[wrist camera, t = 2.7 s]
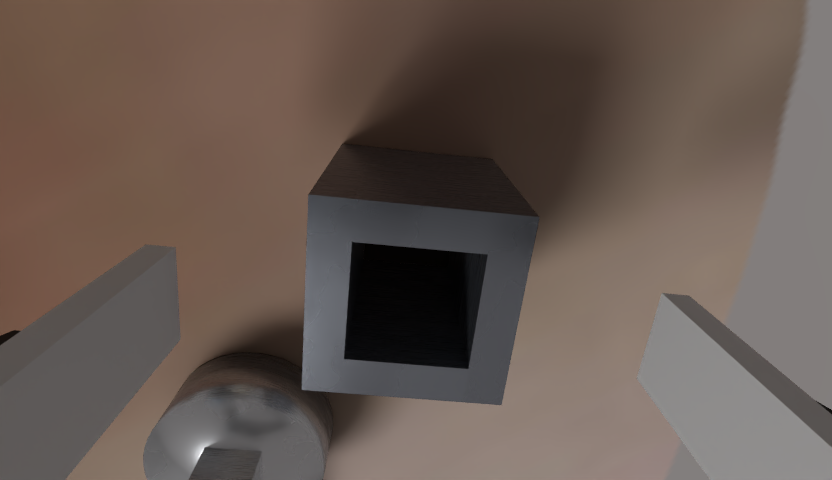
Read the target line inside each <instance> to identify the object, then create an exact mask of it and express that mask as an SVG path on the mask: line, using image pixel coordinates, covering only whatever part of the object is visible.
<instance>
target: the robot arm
mask: <svg viewBox="0 0 832 480" xmlns="http://www.w3.org/2000/svg"><path fill="white" fill-rule="evenodd" d="M179 340H180V322H179V303H178V284H177V265H176V247H167V246H156V245H144V246H143V247H141V248H140V249H139V250H137V251H136V252H134V253H133V254H131V255H130V256H129V257H127V258H126V259H124V260H123V261H121V262H120V263H118V264H117V265H116V266H114V267H113V268H111V269H110V270H108V271H107V272H105V273H104V274H103V275H101V276H100V277H98V278H97V279H95V280H94V281H92V282H91V283H90V284H88V285H87V286H85V287H84V288H82V289H81V290H79V291H78V292H77V293H75V294H74V295H72V296H71V297H69V298H68V299H66V300H65V301H64V302H62V303H61V304H59V305H58V306H56V307H55V308H54V309H52V310H51V311H49V312H48V313H46V314H45V315H43V316H42V317H41V318H39V319H38V320H36V321H35V322H33V323H32V324H30V325H29V326H28V327H26V328H25V329H23V330H22V331H16V330H13V331H11V332H9V333H6V334H4V335H1V336H0V480H65V479H66V478H67V477H68V475H69V474H70V473H71V472H72V470H73V469H74V468H75V467H76V466H77V464H78V463H79V462H80V461H81V460H82V458H83V457H84V456H85V455H86V453H87V452H88V451H89V450H90V449H91V447H92V446H93V445H94V444H95V443H96V441H97V440H98V439H99V438H100V436H101V435H102V434H103V433H104V432H105V430H106V429H107V428H108V427H109V426H110V424H111V423H112V422H113V421H114V419H115V418H116V417H117V416H118V415H119V413H120V412H121V411H122V410H123V409H124V407H125V406H126V405H127V404H128V402H129V401H130V400H131V399H132V398H133V396H134V395H135V394H136V393H137V391H138V390H139V389H140V388H141V387H142V385H143V384H144V383H145V382H146V381H147V379H148V378H149V377H150V376H151V374H152V373H153V372H154V371H155V370H156V368H157V367H158V366H159V365H160V364H161V362H162V361H163V360H164V359H165V357H166V356H167V355H168V354H169V353H170V351H171V350H172V349H173V348H174V347H175V345H176V344H177V343H178V342H179ZM637 379H638V381H639V382H640V384H641V385H642V386H643V388H644V389H645V390H646V392H647V393H648V395H649V396H650V397H651V399H652V400H653V401H654V403H655V404H656V406H657V407H658V408H659V410H660V411H661V413H662V414H663V415H664V417H665V418H666V419H667V421H668V422H669V424H670V425H671V426H672V428H673V429H674V431H675V432H676V433H677V435H678V436H679V437H680V439H681V440H682V442H683V443H684V444H685V446H686V447H687V449H688V450H689V451H690V453H691V454H692V455H693V457H694V458H695V460H696V461H697V462H698V464H699V465H700V466H701V468H702V469H703V471H704V472H705V473H706V475H707V476H708V478H709V479H710V480H832V410H831V409H829V408H827V407H826V406H824V405H822V404H820V403H819V402H817V401H815V400H814V399H813V398H811V397H810V396H809V395H808V394H807V393H805V392H804V391H803V390H802V389H800V388H799V387H798V386H797V385H796V384H795V383H793V382H792V381H791V380H790V379H789V378H787V377H786V376H785V375H784V374H782V373H781V372H780V371H779V370H778V369H777V368H775V367H774V366H773V365H772V364H770V363H769V362H768V361H767V360H766V359H764V358H763V357H762V356H761V355H760V354H758V353H757V352H756V351H755V350H754V349H752V348H751V347H750V346H749V345H748V344H746V343H745V342H744V341H743V340H741V339H740V338H739V337H738V336H737V335H736V334H734V333H733V332H732V331H730V329H728V328H727V327H726V326H725V325H724V324H722V323H721V322H720V321H719V320H718V319H716V318H715V317H714V316H713V315H712V314H710V313H709V312H708V311H707V310H706V309H704V308H703V307H702V306H701V305H700V304H698V303H697V302H696V301H695V300H694V299H692V298H691V297H690V296H687V295H676V294H666V293H662V295H661V298H660V301H659V305H658V308H657V312H656V315H655V318H654V322H653V325H652V328H651V332H650V335H649V339H648V342H647V345H646V349H645V352H644V356H643V359H642V362H641V366H640V369H639V372H638V376H637Z"/></svg>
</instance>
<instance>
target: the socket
mask: <svg viewBox="0 0 832 480" xmlns="http://www.w3.org/2000/svg"><path fill="white" fill-rule="evenodd" d="M538 222H539V216H538V215H537V213H536V212H535V211H534V210H533V209H532V207H531V206H530V205H529V204H528V202H527V201H526V200H525V199H524V197H523V196H522V195H521V194H520V192H519V191H518V190H517V189H516V188H515V186H514V185H513V184H512V183H511V181H510V180H509V179H508V178H507V176H506V175H505V174H504V173H503V172H502V170H501V169H500V168H499V167H498V165H497V164H496V163H495V162H494V160H493V159H484V158H475V157H465V156H455V155H446V154H436V153H427V152H417V151H407V150H398V149H388V148H379V147H369V146H359V145H350V144H342V145H341V147H340V148H339V150H338V151H337V153H336V154H335V156H334V157H333V159H332V160H331V162H330V163H329V165H328V166H327V168H326V169H325V171H324V172H323V174H322V175H321V177H320V178H319V180H318V181H317V183H316V184H315V186H314V187H313V189H312V190H311V192H310V193H309V195H308V223H307V251H306V280H305V308H304V337H303V365H302V390H310V391H323V392H336V393H349V394H362V395H375V396H389V397H402V398H415V399H428V400H441V401H454V402H468V403H481V404H494V405H501V404H502V399H503V394H504V389H505V385H506V380H507V375H508V370H509V365H510V360H511V355H512V350H513V345H514V340H515V335H516V330H517V325H518V321H519V316H520V311H521V306H522V301H523V296H524V291H525V286H526V281H527V276H528V271H529V266H530V261H531V256H532V252H533V247H534V242H535V237H536V232H537V227H538ZM365 243H369V244H380V245H391V246H401V247H412V248H423V249H434V250H444V251H450V255H449V263H448V267H445V266H434V265H423V264H413V263H402V262H391V261H380V260H369V259H364V248H365Z"/></svg>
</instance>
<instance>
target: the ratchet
mask: <svg viewBox="0 0 832 480" xmlns="http://www.w3.org/2000/svg"><path fill="white" fill-rule="evenodd" d="M332 428H333V415H332V410H331V406H330V403H329V400H328V398H327V397H326V395H325V393H324V392H323V391H310V390H302V369H300V368H299V367H297V366H296V365H294V364H292V363H290V362H288V361H285V360H283V359H280V358H277V357H274V356H270V355H265V354H258V353H237V354H230V355H225V356H221V357H219V358H216V359H213V360H211V361H209V362H207V363H205V364H203V365H202V366H200V367H199V368H197V369H196V370H195V371H194V372H193V373H192V374H191V375H190V376H189V377H188V378H187V380H186V381H185V382H184V384H183V385H182V387H181V388H180V390H179V391H178V393H177V394H176V396H175V397H174V399H173V400H172V402H171V403H170V405H169V406H168V408H167V409H166V411H165V412H164V414H163V415H162V417H161V418H160V420H159V421H158V423H157V424H156V426H155V427H154V429H153V430H152V432H151V434H150V436H149V437H148V439H147V442H146V445H145V449H144V455H143V465H144V470H145V475H146V478H147V480H323V477H324V471H325V466H326V461H327V456H328V450H329V445H330V440H331V435H332Z"/></svg>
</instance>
